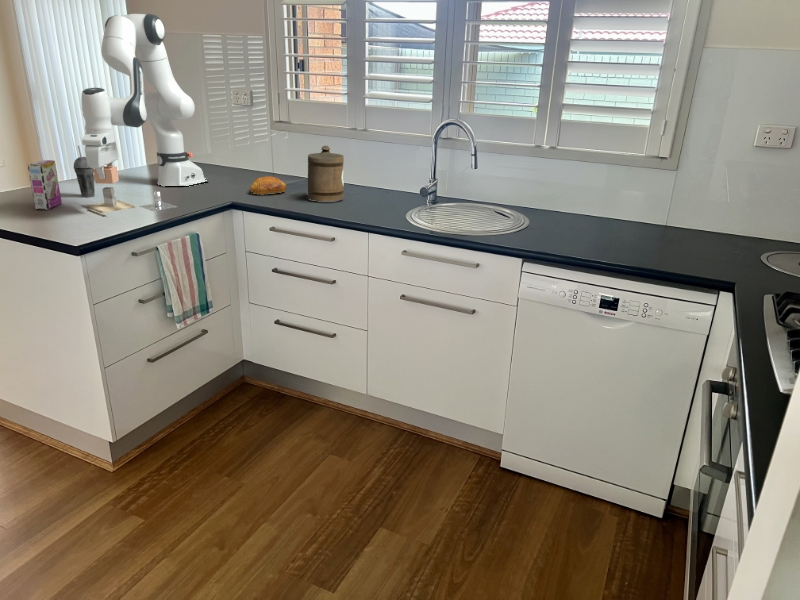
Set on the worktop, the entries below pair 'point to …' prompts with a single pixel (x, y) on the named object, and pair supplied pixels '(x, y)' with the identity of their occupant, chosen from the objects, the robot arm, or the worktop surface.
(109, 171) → the collar
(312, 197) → the wooden container
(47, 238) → the worktop surface
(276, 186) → the croissant
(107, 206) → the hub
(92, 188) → the beverage cup
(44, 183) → the candy bar box
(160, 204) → the rod stand
